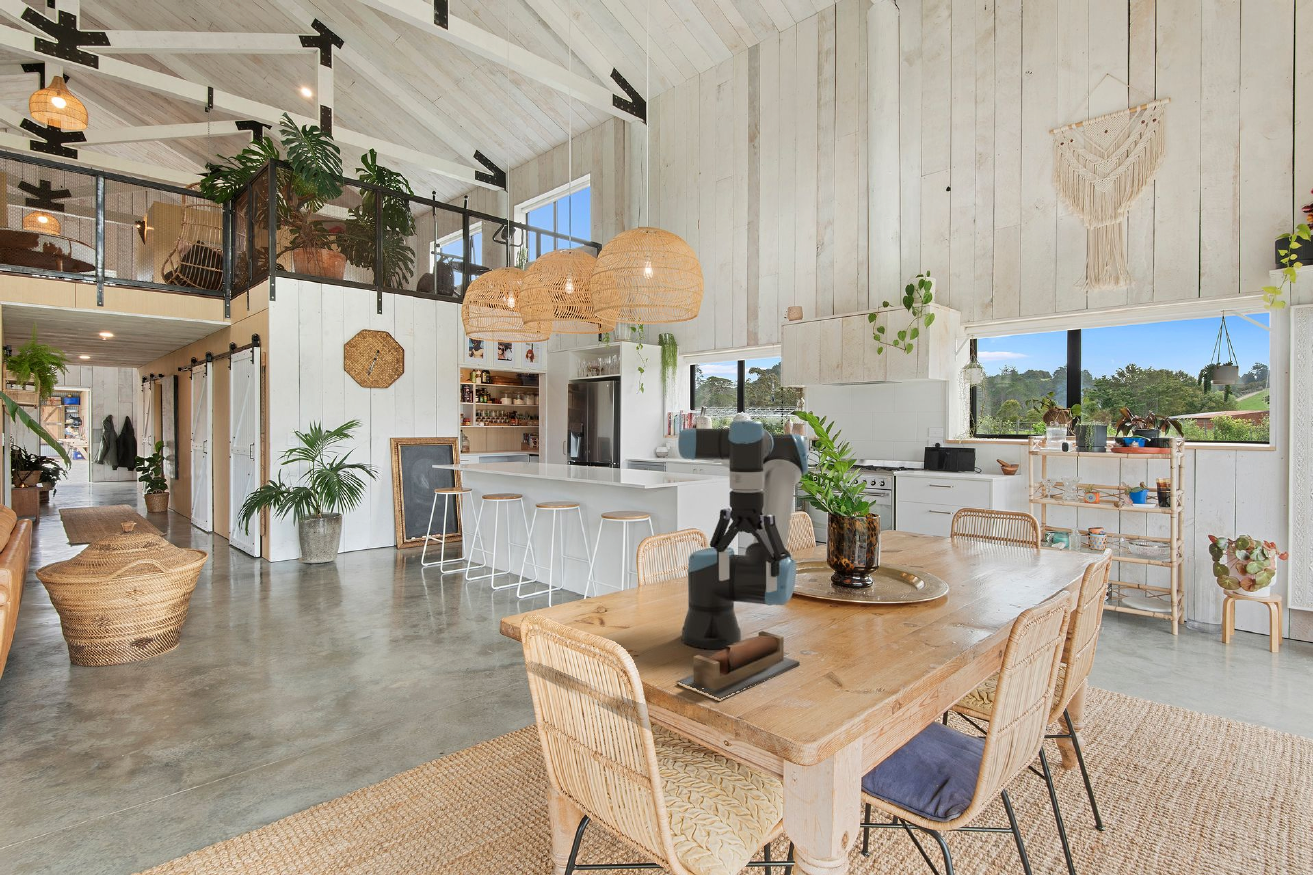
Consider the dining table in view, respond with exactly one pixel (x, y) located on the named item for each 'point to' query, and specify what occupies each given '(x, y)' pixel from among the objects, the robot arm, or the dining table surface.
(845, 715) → the dining table surface
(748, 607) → the dining table surface
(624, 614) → the dining table surface
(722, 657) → the sunglasses case
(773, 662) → the case stand
